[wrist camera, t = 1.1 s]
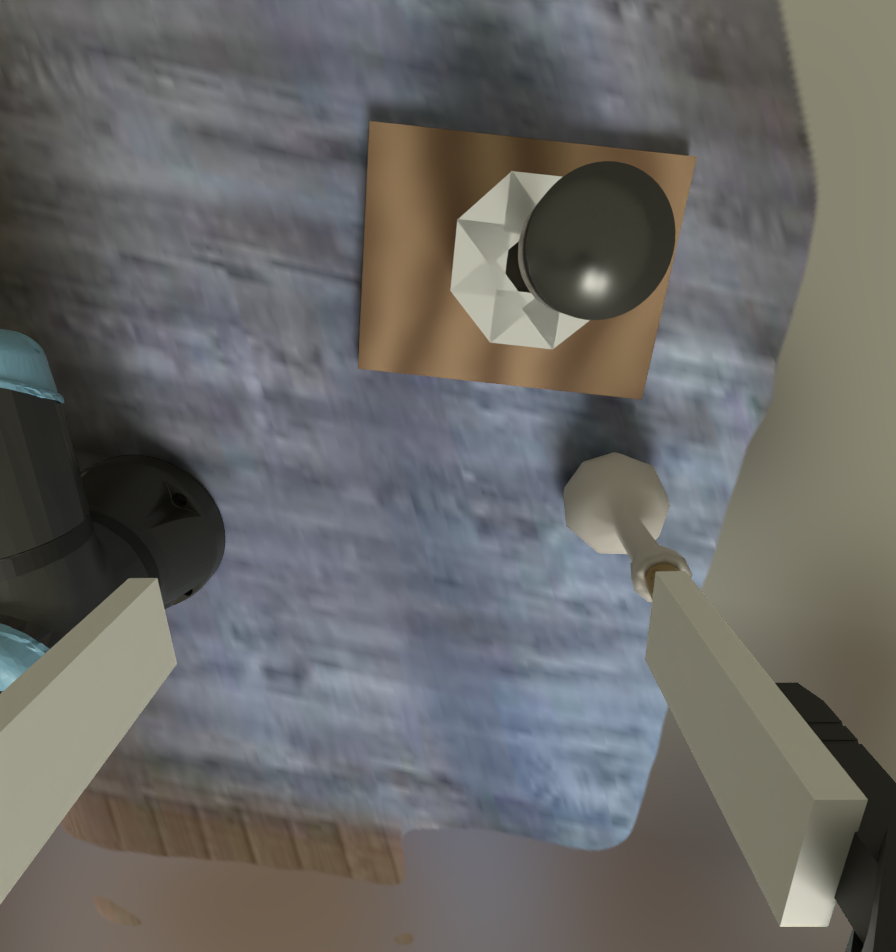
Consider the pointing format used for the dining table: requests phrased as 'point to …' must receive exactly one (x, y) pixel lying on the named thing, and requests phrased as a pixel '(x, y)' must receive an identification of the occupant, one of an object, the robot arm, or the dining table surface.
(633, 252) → the plunger
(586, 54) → the dining table surface
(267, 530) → the dining table surface
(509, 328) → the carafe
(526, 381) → the board
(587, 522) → the potion bottle
